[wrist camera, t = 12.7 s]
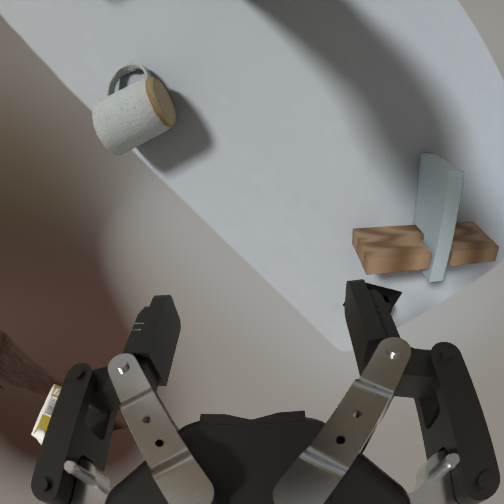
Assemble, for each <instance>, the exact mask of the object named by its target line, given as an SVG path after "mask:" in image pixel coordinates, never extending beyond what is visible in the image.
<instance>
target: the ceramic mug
mask: <svg viewBox="0 0 504 504" xmlns="http://www.w3.org/2000/svg"><path fill="white" fill-rule="evenodd" d="M138 69H141V70H143V72H144V74H145V77H146V78H144V79H141V80H139V81H137V82H134V83H132V84H131V85H129V86H127V87H125V88H123V89H121V90H119V91H117V92H115V93H114V91H115V86H116V84H117V82H118V80H119V79H120V78H121V77H122V76H123V75H125V74H128V73H130V72H132V71H136V70H138ZM92 114H93V115H92V117H93V124H94V127H95V130H96V133H97V135H98V137H99V138H100V140H101V142H102V143H103V145H104V146H105V147H106V148H107V149H108V150H109V151H110V152H112V153H113V154H115V155H122V154H124V153H126V152H128V151H130V150H132V149H133V148H135V147H137V146H139V145H141V144H143V143H145V142H146V141H148V140H150V139H152V138H154V137H156V136H158V135H160V134H162V133H164V132H166V131H167V130H169V129H170V128H171V127H172V126H173V125H174V123H175V121H176V113H175V108H174V105H173V102H172V100H171V98H170V95H169V93H168V92H167V90H166V88H165V87H164V85H163V84H162V83H161V82H160V81H159V80H158V79H156V78H154V77H152V76H151V74H150V72H149V71H148V70H147V69H146V68H145V67H144V66H142V65H140V64H137V63H131V64H127V65H125V66H123V67H121V68H119V69H118V70H117V71H116V72H115V73H114V74H113V75H112V77H111V78H110V81H109V83H108V87H107V97H106V98H104V99H102V100H100V101H98V102H97V103H96V104H95V105H94V107H93V113H92Z"/></svg>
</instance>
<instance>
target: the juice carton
mask: <svg viewBox="0 0 504 504" xmlns="http://www.w3.org/2000/svg"><path fill="white" fill-rule="evenodd" d="M61 388H62V386H59V385H56V384H54V385H53V387H52V389H51V391H50V392H49V395H48V397H47V399H46V401H45V403H44V406H43V408H42V410H41V412H40V414H39V417H38V419H37V422H36V424H35V426H34V429H33V432H32V435H33V436H34V437H35V438H36V439H37V440H38V441H39V443H40V444H41V445H42V442H43V439H44V436H45V433H46V430H47V427H48V424H49V421H50V418H51V415H52V412H53V409H54V407H55V404H56V401H57V398H58V396H59V393H60V390H61Z"/></svg>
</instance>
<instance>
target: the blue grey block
mask: <svg viewBox="0 0 504 504" xmlns="http://www.w3.org/2000/svg"><path fill="white" fill-rule="evenodd" d="M463 176H464V171H462V170H461V169H459V168H458V167H456V166H454V165H453V164H451V163H449V162H448V161H446V160H444V159H443V158H441V157H439V156H438V155H436V154H432V153H420V164H419V177H418V188H417V198H416V207H415V215H414V223H415V224H416V226H417V227H418V228H419V229H420V230H421V232H422V233H423V234H424V240H423V243H424V244H425V245H426V246H427V248H428V249H429V250H430V252H431V253H432V255H431V260H430V264H429V269H420V270H421V271H422V273H423V274H424V276H425V277H426V279H427V280H428V282H435V281H443V277H444V273H445V270H446V266H447V262H448V258H449V253H450V249H451V245H452V240H453V236H454V231H455V226H456V221H457V215H458V209H459V204H460V197H461V191H462V183H463Z"/></svg>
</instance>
